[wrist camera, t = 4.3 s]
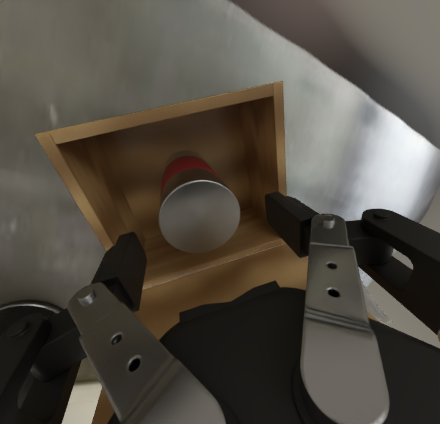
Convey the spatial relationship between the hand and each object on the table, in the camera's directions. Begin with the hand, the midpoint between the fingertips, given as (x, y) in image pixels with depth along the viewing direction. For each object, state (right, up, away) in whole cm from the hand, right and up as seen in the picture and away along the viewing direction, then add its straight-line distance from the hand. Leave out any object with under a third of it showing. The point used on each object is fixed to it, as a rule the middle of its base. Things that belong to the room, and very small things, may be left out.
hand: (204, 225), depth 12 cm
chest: (-3, +5, +12) cm, 14 cm away
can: (-3, +5, +11) cm, 13 cm away
